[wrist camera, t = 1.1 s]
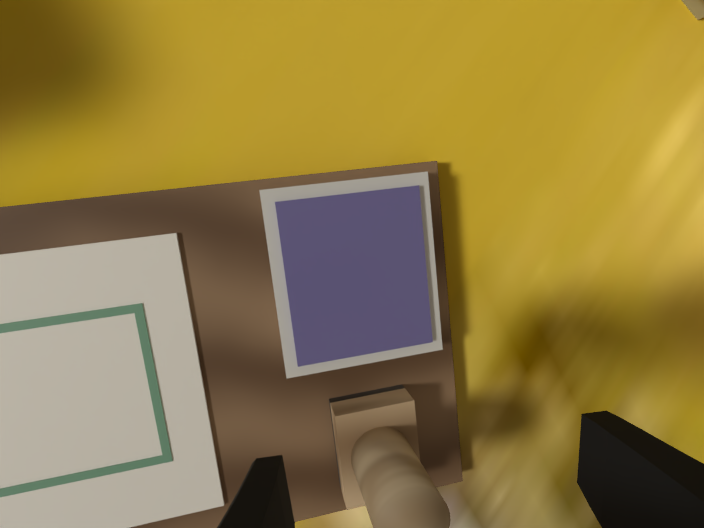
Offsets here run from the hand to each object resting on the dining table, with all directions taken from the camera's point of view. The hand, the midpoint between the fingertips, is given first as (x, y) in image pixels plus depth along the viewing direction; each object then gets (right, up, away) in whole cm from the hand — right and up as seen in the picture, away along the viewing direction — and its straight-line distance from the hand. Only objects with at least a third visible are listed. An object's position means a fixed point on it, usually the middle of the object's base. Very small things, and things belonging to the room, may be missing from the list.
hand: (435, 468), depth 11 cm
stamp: (-1, -4, +14) cm, 14 cm away
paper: (-15, -1, +10) cm, 18 cm away
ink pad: (-2, +5, +12) cm, 13 cm away
